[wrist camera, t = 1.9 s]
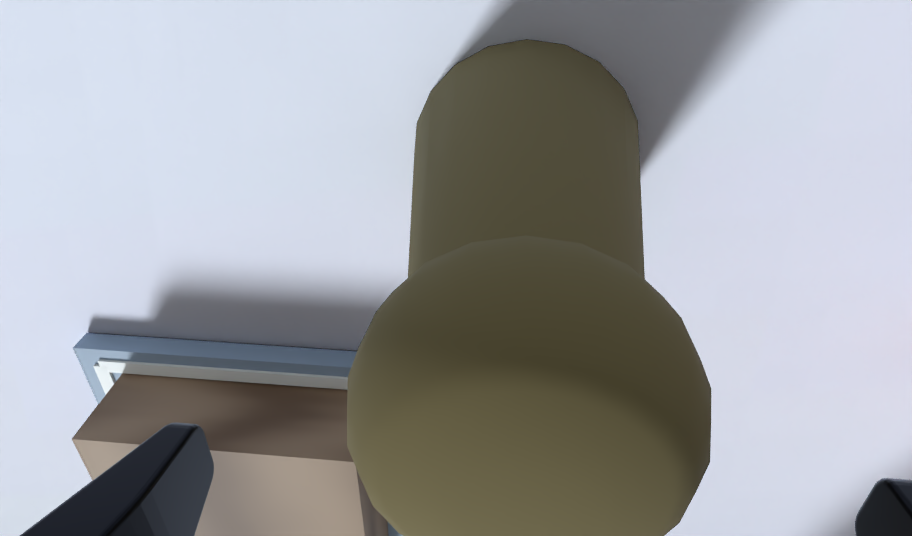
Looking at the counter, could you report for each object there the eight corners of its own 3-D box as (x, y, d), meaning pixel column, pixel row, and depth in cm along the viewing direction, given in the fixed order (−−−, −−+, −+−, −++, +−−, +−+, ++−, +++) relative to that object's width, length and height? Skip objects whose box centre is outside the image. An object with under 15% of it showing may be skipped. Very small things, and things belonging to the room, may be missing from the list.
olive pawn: (422, 248, 19) (325, 621, 10) (404, 42, 15) (230, 317, 6) (626, 250, 18) (727, 651, 9) (654, 36, 15) (855, 332, 6)
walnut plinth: (375, 390, 21) (355, 462, 19) (389, 543, 26) (374, 616, 24) (123, 372, 22) (71, 439, 19) (183, 525, 27) (149, 593, 24)
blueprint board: (539, 364, 21) (539, 382, 20) (518, 551, 27) (518, 571, 26) (86, 332, 22) (71, 349, 21) (165, 519, 28) (155, 537, 28)
